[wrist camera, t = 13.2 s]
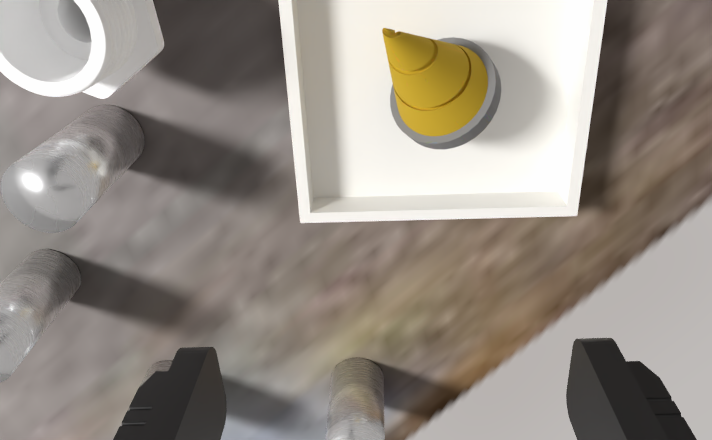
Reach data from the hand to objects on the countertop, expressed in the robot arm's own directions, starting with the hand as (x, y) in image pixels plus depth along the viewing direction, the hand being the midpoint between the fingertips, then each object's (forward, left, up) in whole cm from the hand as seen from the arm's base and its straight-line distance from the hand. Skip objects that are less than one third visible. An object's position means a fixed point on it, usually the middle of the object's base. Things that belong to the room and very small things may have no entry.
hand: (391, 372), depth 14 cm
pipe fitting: (-6, -13, -21) cm, 26 cm away
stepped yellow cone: (-2, +2, -21) cm, 21 cm away
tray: (-2, +3, -21) cm, 21 cm away
